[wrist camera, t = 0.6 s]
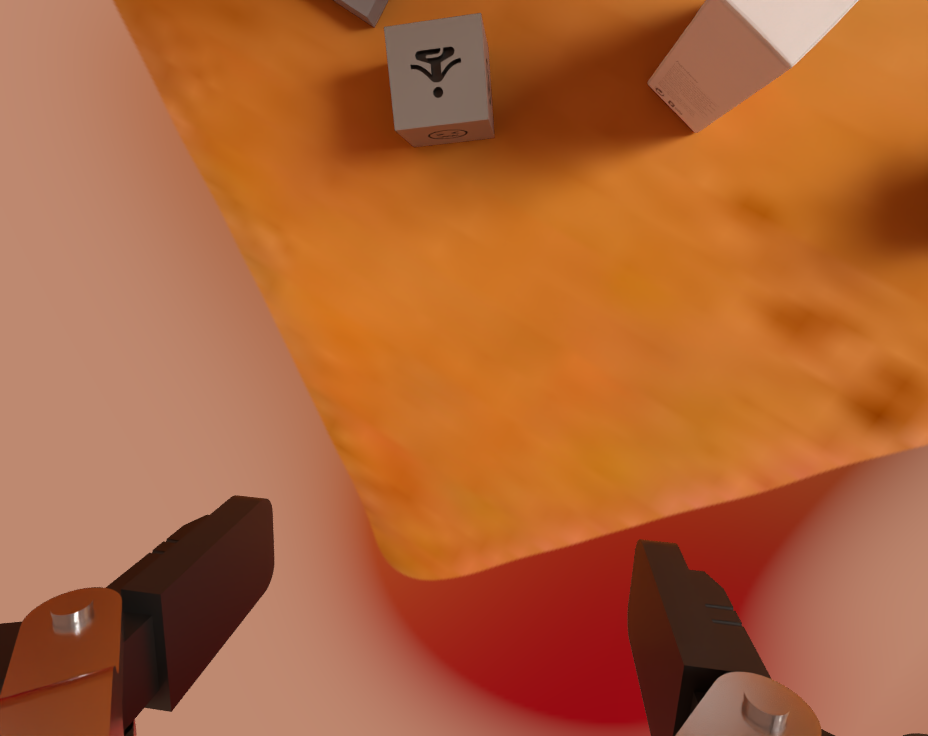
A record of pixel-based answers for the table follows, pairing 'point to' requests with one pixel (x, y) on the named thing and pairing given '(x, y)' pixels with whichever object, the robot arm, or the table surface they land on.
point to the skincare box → (739, 52)
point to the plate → (365, 9)
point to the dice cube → (440, 80)
